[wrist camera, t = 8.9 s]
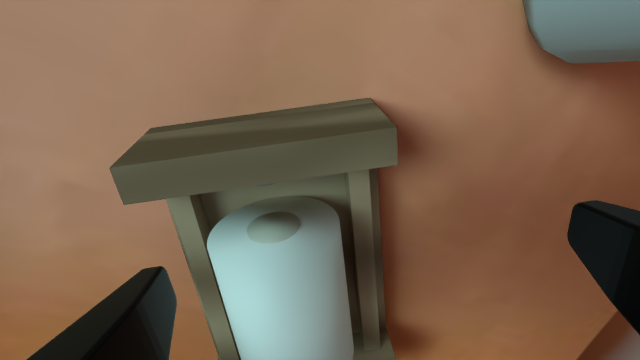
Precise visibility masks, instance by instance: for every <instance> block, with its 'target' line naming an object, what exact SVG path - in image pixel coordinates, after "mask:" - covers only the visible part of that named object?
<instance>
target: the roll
mask: <svg viewBox="0 0 640 360" xmlns="http://www.w3.org/2000/svg"><path fill="white" fill-rule="evenodd" d="M207 249H208V253H209V256H210V259H211V262H212V266H213V269H214V272H215V276H216V279H217V282H218V285H219V289H220V292H221V295H222V299H223V302H224V305H225V308H226V312H227V315H228V318H229V322H230V325H231V328H232V331H233V335H234V338H235V341H236V345H237V348H238V351H239V354H240V358H241V360H353V355H354V345H353V336H352V327H351V318H350V309H349V301H348V292H347V283H346V274H345V265H344V256H343V247H342V238H341V229H340V221H339V217H338V214H337V213H336V211H335V210H334V209H333V208H332V207H331V206H330V205H328V204H327V203H324V202H322V201H320V200H317V199H314V198H309V197H302V196H281V197H274V198H268V199H264V200H260V201H256V202H253V203H250V204H248V205H245V206H243V207H241V208H239V209H237V210H235V211H233V212H231V213H230V214H228V215H227V216H225V217H224V218H223V219H222V220H220V221H219V222H218V223H217V224H216V225H215V227H214V228H213V229H212V231H211V232H210V234H209V237H208V240H207Z"/></svg>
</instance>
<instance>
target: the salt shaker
mask: <svg viewBox="0 0 640 360" xmlns="http://www.w3.org/2000/svg"><path fill="white" fill-rule="evenodd" d="M523 5H524V9H525V13H526V18H527V22H528V27H529V31H530V32H531V34H532V35H533V37H534V38H535V40H536V41H537V43H538V44H539V46H540V48H541V49H543V50H545V51H547V52H549V53H551V54H553V55H555V56H556V57H558V58H560V59H562V60H564V61H566V62H568V63H607V62H631V61H640V0H523Z"/></svg>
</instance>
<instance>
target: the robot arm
mask: <svg viewBox="0 0 640 360" xmlns="http://www.w3.org/2000/svg"><path fill="white" fill-rule="evenodd" d="M567 236H568V241H569V244H570V246H571V247H572V248H573V250H574V251H575V253H576V254H577V255H578V257H579V258H580V260H581V261H582V262H583V264H584V265H585V267H586V268H587V269H588V271H589V272H590V273H591V275H592V276H593V278H594V279H595V280H596V282H597V283H598V285H599V286H600V287H601V289H602V290H603V292H604V293H605V294H606V296H607V297H608V298H609V300H610V301H611V302H612V303H613V305H614V306H615V307H616V308H617V309H618V311H619V312H620V313H621V314H622V315H623V316H624V318H625V319H626V320H627V321H628V322H629V323H630V324H631V326H632V327H633V328H634V329H635V330H636V331H637V333H638V334H639V335H640V211H638V210H634V209H630V208H626V207H622V206H618V205H614V204H610V203H606V202H602V201H597V200H593V201H586V202H580V203H577V204H576V205H575V206H574V207H573V209H572V214H571V219H570V224H569V229H568V234H567ZM176 306H177V301H176V295H175V292H174V289H173V287H172V284H171V281H170V279H169V276H168V273H167V271H166V269H165V268H164V267H162V266H158V267H151V268H145V269H142V270H141V271H140V272H138V273H137V274H136V275H134V276H133V277H132V278H131V279H129V280H128V281H127V282H125V283H124V284H123V285H122V286H120V287H119V288H118V289H116V290H115V291H114V292H113V293H111V294H110V295H109V296H108V297H106V298H105V299H104V300H102V301H101V302H100V303H99V304H97V305H96V306H95V307H93V308H92V309H91V310H90V311H88V312H87V313H86V314H84V315H83V316H82V317H81V318H79V319H78V320H77V321H75V322H74V323H73V324H72V325H70V326H69V327H68V328H66V329H65V330H64V331H63V332H61V333H60V334H59V335H57V336H56V337H55V338H54V339H52V340H51V341H50V342H48V343H47V344H46V345H45V346H43V347H42V348H41V349H39V350H38V351H37V352H36V353H34V354H33V355H32V356H30V357H29V358H28V359H27V360H169V354H170V347H171V340H172V334H173V327H174V320H175V313H176Z"/></svg>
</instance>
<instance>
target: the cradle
mask: <svg viewBox="0 0 640 360" xmlns="http://www.w3.org/2000/svg"><path fill="white" fill-rule="evenodd" d="M394 165H398V147H397V127H396V126H395V125H394V123H393V122H392V121H391V120H390V119H389V118H388V117H387V116H386V115H385V114H384V113H383V112H382V111H381V110H380V109H379V108H378V107H377V105H376V104H375V103H374V102H373V101H372V100H371V99H370V98H365V99H357V100H350V101H343V102H336V103H329V104H321V105H314V106H307V107H300V108H293V109H286V110H278V111H271V112H264V113H257V114H250V115H242V116H235V117H228V118H221V119H214V120H207V121H199V122H192V123H185V124H178V125H171V126H163V127H156V128H151V129H149V130H148V131H147V132H146V133H145V134H144V135H143V136H142V137H141V138H140V139H139V140H138V141H137V142H136V143H135V144H134V145H133V146H132V147H131V148H130V149H129V150H128V151H127V152H125V153H124V154H123V155H122V156H121V157H120V158H119V159H118V160H117V161H116V162H115V163H114V164H113V165H112V166H111V167H110V168H109V169H110V171H111V174H112V176H113V179H114V182H115V184H116V187H117V189H118V192H119V194H120V197H121V199H122V202H123V204H124V205H127V204H134V203H141V202H148V201H155V200H161V199H166V201H167V204H168V207H169V210H170V213H171V216H172V219H173V222H174V225H175V228H176V231H177V234H178V237H179V240H180V243H181V246H182V249H183V252H184V255H185V258H186V261H187V264H188V267H189V270H190V273H191V276H192V278H193V281H194V284H195V287H196V290H197V293H198V296H199V299H200V302H201V305H202V308H203V311H204V314H205V317H206V320H207V323H208V326H209V329H210V332H211V335H212V338H213V341H214V344H215V347H216V350H217V353H218V359H217V360H241V358H240V354H239V351H238V348H237V345H236V341H235V338H234V335H233V331H232V328H231V325H230V322H229V318H228V315H227V312H226V308H225V305H224V302H223V299H222V295H221V292H220V289H219V285H218V282H217V279H216V276H215V272H214V269H213V266H212V262H211V259H210V256H209V253H208V249H207V240H208V237H209V234H210V232H211V231H212V229H213V228H214V227H215V225H216V224H217V223H218V222H219V221H220V220H222V219H223V218H224V217H225V216H227V215H228V214H230V213H231V212H233V211H235V210H237V209H239V208H241V207H243V206H245V205H248V204H250V203H253V202H256V201H260V200H264V199H268V198H274V197H281V196H302V197H309V198H314V199H317V200H320V201H322V202H324V203H327V204H328V205H330V206H331V207H332V208H333V209H334V210H335V211H336V213H337V214H338V217H339V221H340V229H341V238H342V247H343V256H344V265H345V274H346V283H347V292H348V301H349V309H350V318H351V327H352V336H353V345H354V355H353V360H396V357H395V354H394V351H393V348H392V345H391V342H390V339H389V336H388V333H387V330H386V319H385V301H384V282H383V264H382V245H381V227H380V209H379V190H378V172H377V168H381V167H387V166H394Z"/></svg>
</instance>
